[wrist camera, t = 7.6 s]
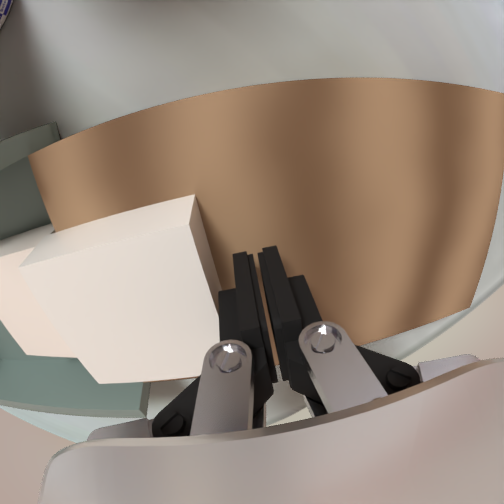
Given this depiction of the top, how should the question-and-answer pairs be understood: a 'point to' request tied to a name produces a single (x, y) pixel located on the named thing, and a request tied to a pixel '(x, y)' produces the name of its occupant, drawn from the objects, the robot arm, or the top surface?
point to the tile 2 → (131, 292)
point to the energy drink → (4, 10)
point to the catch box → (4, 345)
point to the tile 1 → (26, 299)
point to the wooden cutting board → (311, 187)
